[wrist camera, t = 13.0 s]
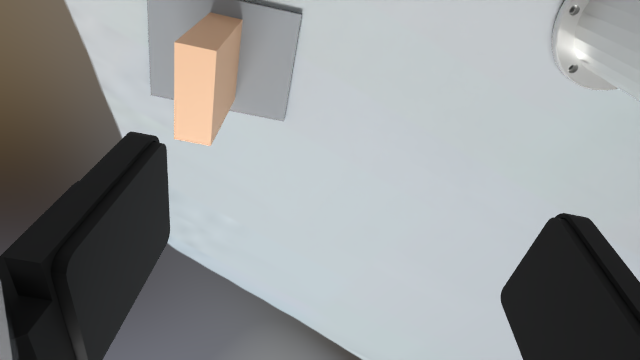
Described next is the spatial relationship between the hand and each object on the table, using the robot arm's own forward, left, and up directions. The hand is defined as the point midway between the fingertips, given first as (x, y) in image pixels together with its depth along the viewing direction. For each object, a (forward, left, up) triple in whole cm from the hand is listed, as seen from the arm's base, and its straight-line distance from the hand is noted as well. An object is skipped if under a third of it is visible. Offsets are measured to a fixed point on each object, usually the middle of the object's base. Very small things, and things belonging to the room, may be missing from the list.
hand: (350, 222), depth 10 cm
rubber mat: (+10, +8, -32) cm, 34 cm away
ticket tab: (+10, +8, -31) cm, 33 cm away
